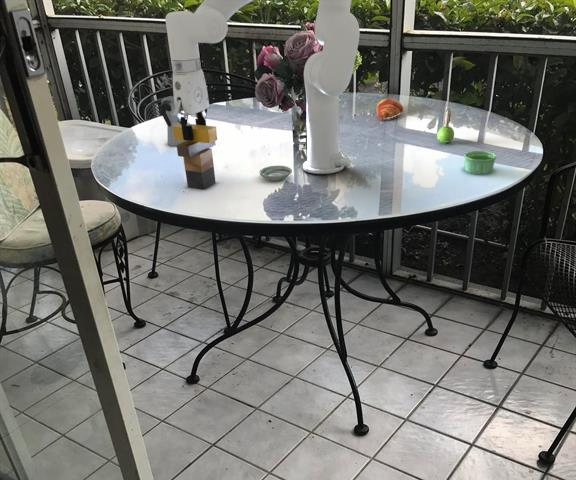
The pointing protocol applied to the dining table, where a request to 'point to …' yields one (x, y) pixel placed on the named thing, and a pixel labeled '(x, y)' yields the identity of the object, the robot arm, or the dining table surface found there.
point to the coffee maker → (170, 117)
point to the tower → (200, 170)
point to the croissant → (388, 108)
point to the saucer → (275, 172)
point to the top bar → (197, 133)
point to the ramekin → (479, 162)
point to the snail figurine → (446, 129)
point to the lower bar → (192, 148)
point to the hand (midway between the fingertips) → (195, 136)
